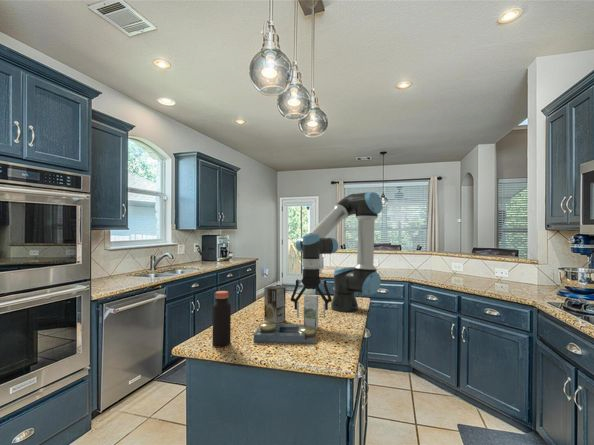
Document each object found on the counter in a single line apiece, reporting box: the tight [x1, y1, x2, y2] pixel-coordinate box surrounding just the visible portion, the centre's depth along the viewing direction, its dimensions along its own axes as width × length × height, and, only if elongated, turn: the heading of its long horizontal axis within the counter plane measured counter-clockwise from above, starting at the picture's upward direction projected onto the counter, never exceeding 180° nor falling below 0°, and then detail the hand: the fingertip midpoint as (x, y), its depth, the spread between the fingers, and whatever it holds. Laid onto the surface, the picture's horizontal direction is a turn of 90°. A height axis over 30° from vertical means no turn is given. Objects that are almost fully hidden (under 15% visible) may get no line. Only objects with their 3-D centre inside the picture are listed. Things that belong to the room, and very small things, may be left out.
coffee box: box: [263, 285, 286, 324], centre depth 154 cm, size 9×6×16 cm
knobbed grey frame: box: [253, 321, 306, 344], centre depth 130 cm, size 20×15×5 cm
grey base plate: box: [268, 326, 317, 345], centre depth 129 cm, size 18×15×4 cm
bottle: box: [212, 290, 232, 348], centre depth 121 cm, size 7×7×20 cm
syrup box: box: [303, 294, 319, 331], centre depth 141 cm, size 6×6×14 cm
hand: (311, 317), depth 141 cm, fingers open, 11 cm apart
